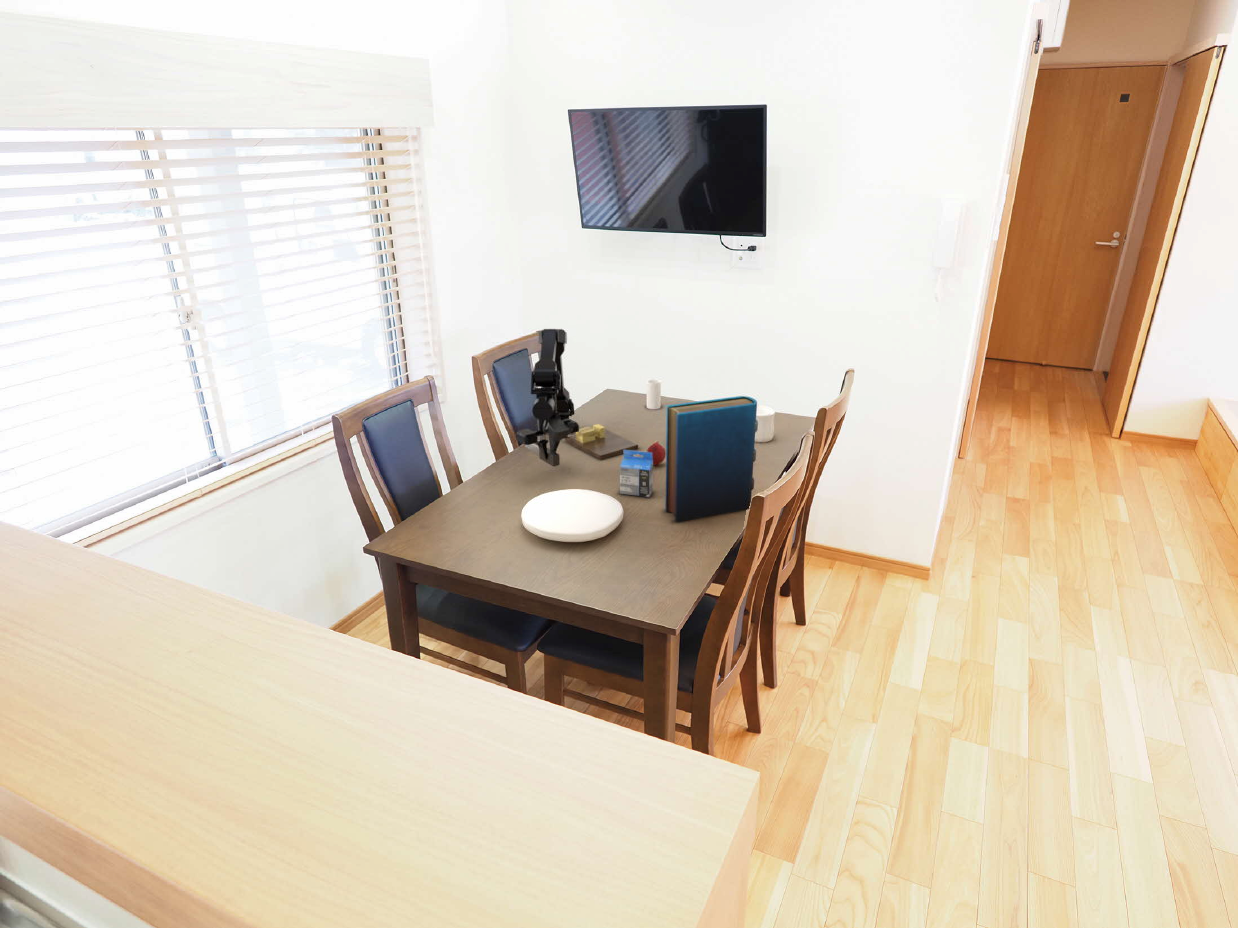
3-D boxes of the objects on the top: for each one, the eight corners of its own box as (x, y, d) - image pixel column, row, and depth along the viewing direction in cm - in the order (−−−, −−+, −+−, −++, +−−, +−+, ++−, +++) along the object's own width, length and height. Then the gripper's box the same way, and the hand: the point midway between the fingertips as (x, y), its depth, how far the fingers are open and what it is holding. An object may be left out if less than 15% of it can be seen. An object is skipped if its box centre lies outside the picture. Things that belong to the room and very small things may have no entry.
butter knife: (559, 465, 233) (559, 454, 232) (553, 466, 232) (553, 456, 231) (528, 447, 247) (528, 436, 245) (522, 448, 246) (522, 438, 244)
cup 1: (647, 404, 295) (647, 379, 291) (660, 404, 295) (661, 379, 291) (646, 409, 290) (646, 383, 286) (660, 409, 290) (660, 383, 286)
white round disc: (528, 485, 218) (624, 485, 218) (529, 507, 220) (624, 507, 220) (513, 521, 191) (622, 522, 191) (514, 546, 193) (622, 547, 193)
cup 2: (751, 430, 269) (753, 403, 265) (778, 436, 264) (780, 408, 260) (738, 438, 262) (740, 411, 258) (766, 445, 257) (768, 416, 253)
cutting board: (565, 441, 261) (564, 427, 259) (602, 431, 269) (601, 417, 267) (600, 460, 246) (600, 445, 245) (638, 448, 255) (638, 434, 253)
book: (741, 494, 222) (747, 392, 210) (757, 507, 215) (763, 402, 203) (663, 508, 215) (664, 404, 203) (676, 522, 207) (677, 414, 195)
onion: (659, 470, 238) (659, 446, 235) (643, 466, 241) (643, 442, 238) (668, 464, 243) (669, 440, 240) (652, 460, 246) (652, 436, 243)
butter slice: (593, 435, 262) (593, 425, 261) (598, 433, 263) (597, 424, 262) (600, 438, 259) (600, 428, 258) (605, 437, 260) (604, 427, 259)
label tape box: (619, 494, 223) (618, 454, 219) (623, 488, 227) (623, 449, 222) (649, 497, 221) (649, 457, 216) (653, 491, 225) (653, 452, 220)
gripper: (533, 423, 218) (536, 474, 224) (588, 409, 228) (590, 458, 234) (513, 412, 226) (516, 462, 233) (567, 399, 237) (569, 447, 243)
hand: (549, 458), depth 235 cm, fingers closed on butter knife, 2 cm apart
